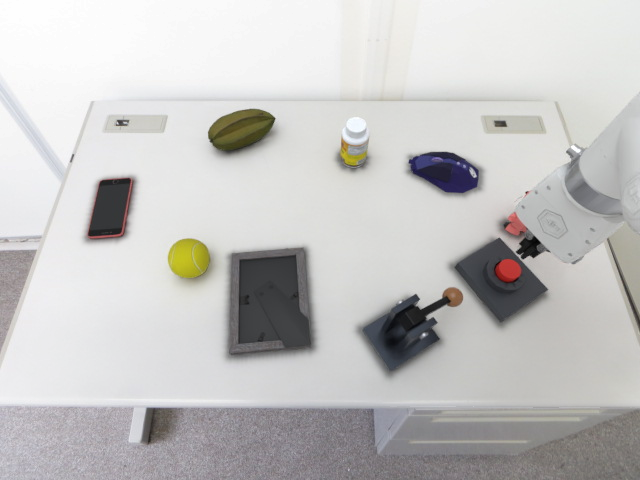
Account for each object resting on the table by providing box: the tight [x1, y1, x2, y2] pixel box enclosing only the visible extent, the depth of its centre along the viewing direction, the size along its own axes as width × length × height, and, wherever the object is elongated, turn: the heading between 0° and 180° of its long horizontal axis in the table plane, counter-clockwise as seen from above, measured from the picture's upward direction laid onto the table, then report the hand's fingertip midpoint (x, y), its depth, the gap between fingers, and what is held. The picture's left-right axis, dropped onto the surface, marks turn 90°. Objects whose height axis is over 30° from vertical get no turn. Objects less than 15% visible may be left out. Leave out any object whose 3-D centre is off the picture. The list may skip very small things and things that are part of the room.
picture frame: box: [228, 247, 312, 356], centre depth 66 cm, size 13×2×18 cm
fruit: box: [207, 108, 276, 151], centre depth 81 cm, size 11×12×7 cm
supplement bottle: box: [340, 116, 371, 169], centre depth 77 cm, size 6×6×10 cm
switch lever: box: [398, 286, 464, 332], centre depth 58 cm, size 13×3×3 cm, turn 121°
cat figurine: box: [502, 190, 531, 236], centre depth 68 cm, size 7×7×12 cm
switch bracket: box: [362, 293, 441, 373], centre depth 58 cm, size 10×8×12 cm
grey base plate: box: [454, 237, 549, 323], centre depth 66 cm, size 12×10×4 cm
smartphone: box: [86, 177, 133, 239], centre depth 76 cm, size 7×1×14 cm
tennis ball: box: [167, 237, 211, 279], centre depth 67 cm, size 7×7×7 cm
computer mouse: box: [408, 151, 480, 194], centre depth 78 cm, size 9×15×4 cm, turn 75°
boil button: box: [495, 259, 521, 282], centre depth 64 cm, size 4×4×2 cm
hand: (526, 251), depth 58 cm, fingers closed
